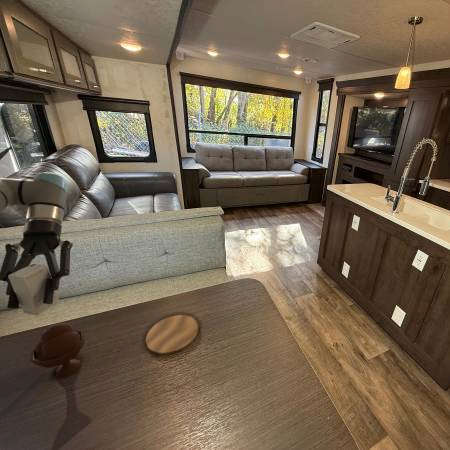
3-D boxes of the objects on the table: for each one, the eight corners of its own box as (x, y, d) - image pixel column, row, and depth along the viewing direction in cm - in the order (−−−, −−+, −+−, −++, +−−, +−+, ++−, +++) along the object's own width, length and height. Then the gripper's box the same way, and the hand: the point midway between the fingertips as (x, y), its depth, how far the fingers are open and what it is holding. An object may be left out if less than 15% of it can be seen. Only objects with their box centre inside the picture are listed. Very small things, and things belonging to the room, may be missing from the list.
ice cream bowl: (33, 375, 68) (13, 335, 62) (81, 346, 77) (68, 309, 72) (52, 395, 64) (32, 355, 58) (100, 362, 73) (88, 324, 67)
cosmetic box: (38, 316, 66) (22, 278, 61) (22, 313, 66) (5, 276, 61) (61, 300, 71) (48, 265, 66) (46, 298, 71) (32, 262, 67)
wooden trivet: (134, 351, 78) (134, 349, 77) (164, 314, 92) (163, 312, 92) (184, 357, 77) (184, 355, 77) (205, 319, 92) (205, 318, 91)
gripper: (90, 226, 78) (83, 300, 71) (9, 229, 71) (-9, 313, 64) (79, 217, 72) (69, 298, 64) (-12, 220, 65) (-35, 311, 57)
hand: (30, 305), depth 64 cm, fingers closed on cosmetic box, 6 cm apart
